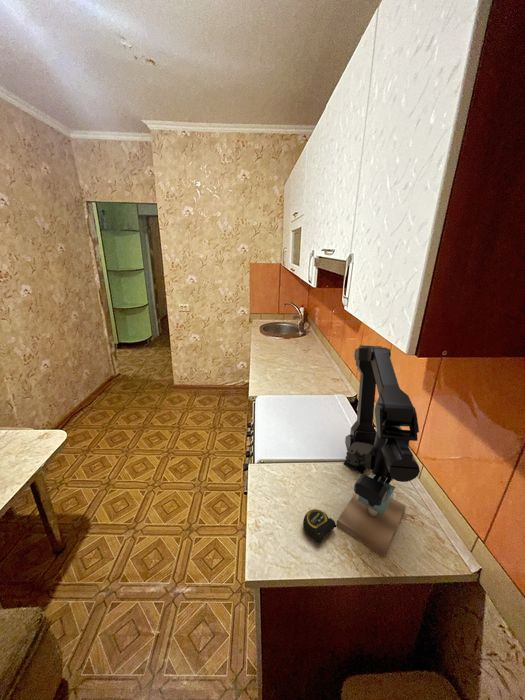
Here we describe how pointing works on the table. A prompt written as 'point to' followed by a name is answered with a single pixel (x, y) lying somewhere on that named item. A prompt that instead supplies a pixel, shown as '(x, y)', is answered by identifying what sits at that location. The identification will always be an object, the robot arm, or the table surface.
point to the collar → (385, 502)
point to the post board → (371, 523)
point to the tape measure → (317, 525)
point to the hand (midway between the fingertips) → (376, 496)
